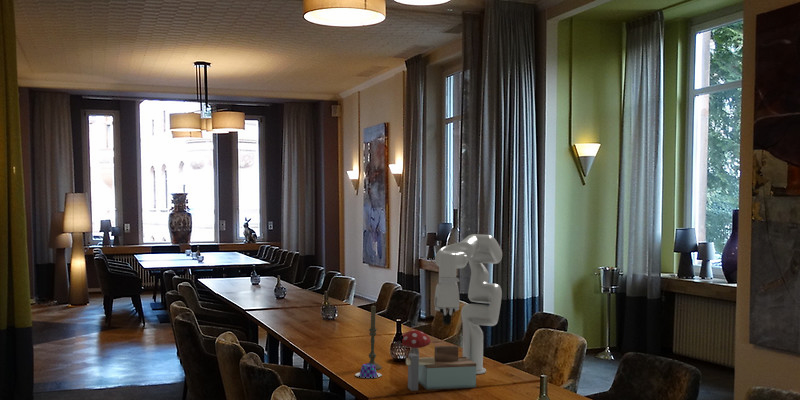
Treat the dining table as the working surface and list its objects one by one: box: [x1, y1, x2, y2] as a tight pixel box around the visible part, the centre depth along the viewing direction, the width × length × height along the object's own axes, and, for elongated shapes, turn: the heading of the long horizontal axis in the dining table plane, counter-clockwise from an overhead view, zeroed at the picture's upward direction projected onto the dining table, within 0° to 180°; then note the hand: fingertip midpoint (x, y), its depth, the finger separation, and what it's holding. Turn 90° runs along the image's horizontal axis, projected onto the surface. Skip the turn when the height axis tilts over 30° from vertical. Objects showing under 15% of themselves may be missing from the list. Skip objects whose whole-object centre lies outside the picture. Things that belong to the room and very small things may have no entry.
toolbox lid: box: [424, 345, 476, 368], centre depth 321 cm, size 14×22×8 cm, turn 104°
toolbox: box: [407, 353, 477, 392], centre depth 320 cm, size 15×29×14 cm, turn 104°
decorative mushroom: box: [401, 329, 432, 357], centre depth 371 cm, size 16×16×15 cm
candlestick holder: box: [366, 304, 383, 371], centre depth 351 cm, size 9×9×30 cm
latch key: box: [405, 356, 435, 366], centre depth 313 cm, size 2×12×2 cm, turn 104°
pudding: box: [354, 363, 383, 379], centre depth 335 cm, size 12×12×5 cm
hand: (446, 324), depth 316 cm, fingers closed
